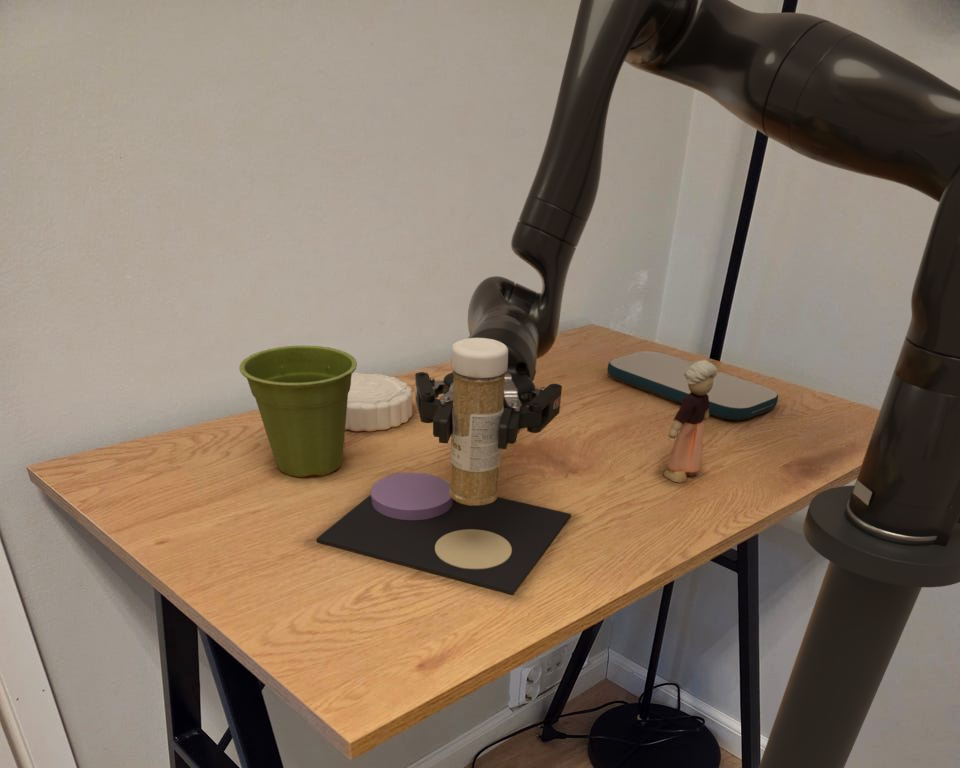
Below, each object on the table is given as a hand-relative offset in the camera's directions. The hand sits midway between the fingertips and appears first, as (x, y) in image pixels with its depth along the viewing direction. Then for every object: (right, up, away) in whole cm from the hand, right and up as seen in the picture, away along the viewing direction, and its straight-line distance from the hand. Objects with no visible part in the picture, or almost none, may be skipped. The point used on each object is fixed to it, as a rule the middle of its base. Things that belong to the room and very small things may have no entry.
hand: (473, 434), depth 67 cm
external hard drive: (+30, +18, +47) cm, 59 cm away
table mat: (-3, -6, +13) cm, 15 cm away
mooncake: (-14, +12, +36) cm, 40 cm away
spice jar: (0, -4, +7) cm, 8 cm away
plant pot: (-18, +2, +24) cm, 30 cm away
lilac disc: (-6, -3, +17) cm, 18 cm away
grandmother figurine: (+23, +2, +26) cm, 35 cm away
